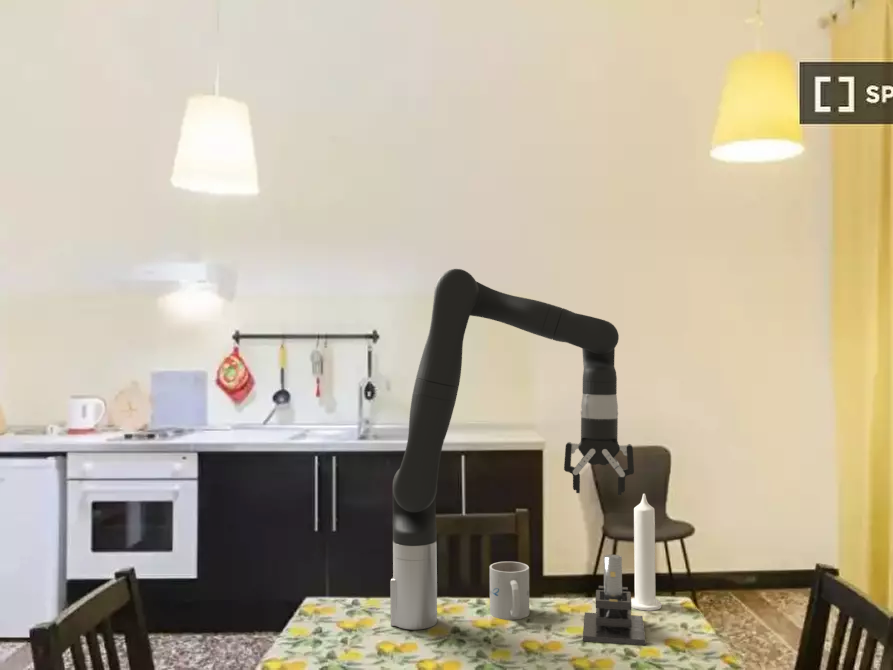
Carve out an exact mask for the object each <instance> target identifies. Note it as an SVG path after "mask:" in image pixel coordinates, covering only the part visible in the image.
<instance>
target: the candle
mask: <svg viewBox="0 0 893 670" xmlns="http://www.w3.org/2000/svg"><path fill="white" fill-rule="evenodd" d="M655 515H656V514H655V507H653V506H652V505H650V503H649V502H648V500H647V496H646V493H642V497H641V500H640V503H638V504H637V505H636V506H635V507H634V508H633V537H634V538H633V549H634V550H633V553H634V554H633V555H634V556H633V557H634V560H633V561H634V562H633V563H634V564H633V565H634V567H633V568H634V597H633V598H631V609H632V608H633V609H634V610H638V611H647V612H648V611H658V610H660V609H661V608H662V602H661V601H659V600H658V599H657V598H656V524H655V523H656V516H655Z"/></svg>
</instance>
